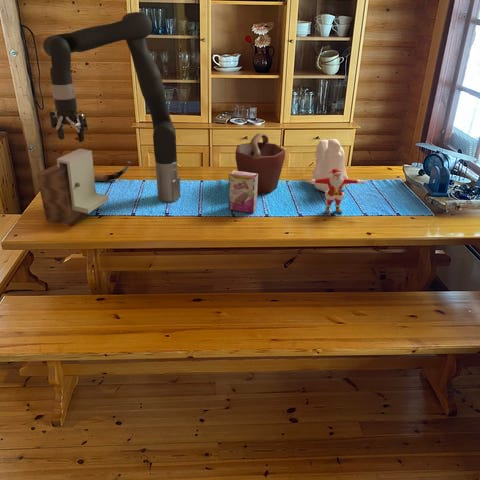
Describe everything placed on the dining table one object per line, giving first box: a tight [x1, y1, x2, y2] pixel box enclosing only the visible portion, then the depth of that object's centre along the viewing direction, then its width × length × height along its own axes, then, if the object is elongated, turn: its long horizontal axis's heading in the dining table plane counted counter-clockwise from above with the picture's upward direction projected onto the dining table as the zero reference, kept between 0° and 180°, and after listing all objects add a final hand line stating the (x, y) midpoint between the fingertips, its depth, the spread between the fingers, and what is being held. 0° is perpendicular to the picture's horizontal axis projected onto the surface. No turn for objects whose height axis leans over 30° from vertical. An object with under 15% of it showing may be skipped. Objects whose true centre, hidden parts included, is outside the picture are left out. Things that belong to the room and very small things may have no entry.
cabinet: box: [36, 163, 96, 227], centre depth 191 cm, size 12×18×25 cm, turn 161°
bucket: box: [235, 133, 286, 195], centre depth 219 cm, size 24×22×25 cm
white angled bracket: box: [56, 148, 109, 215], centre depth 187 cm, size 12×14×20 cm
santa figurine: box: [304, 169, 367, 214], centre depth 198 cm, size 25×6×19 cm, turn 90°
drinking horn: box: [94, 160, 132, 182], centre depth 227 cm, size 6×30×10 cm, turn 92°
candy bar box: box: [228, 169, 258, 214], centre depth 199 cm, size 11×5×16 cm, turn 71°
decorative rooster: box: [311, 138, 349, 192], centre depth 221 cm, size 25×16×25 cm, turn 2°
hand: (71, 140), depth 180 cm, fingers open, 8 cm apart
